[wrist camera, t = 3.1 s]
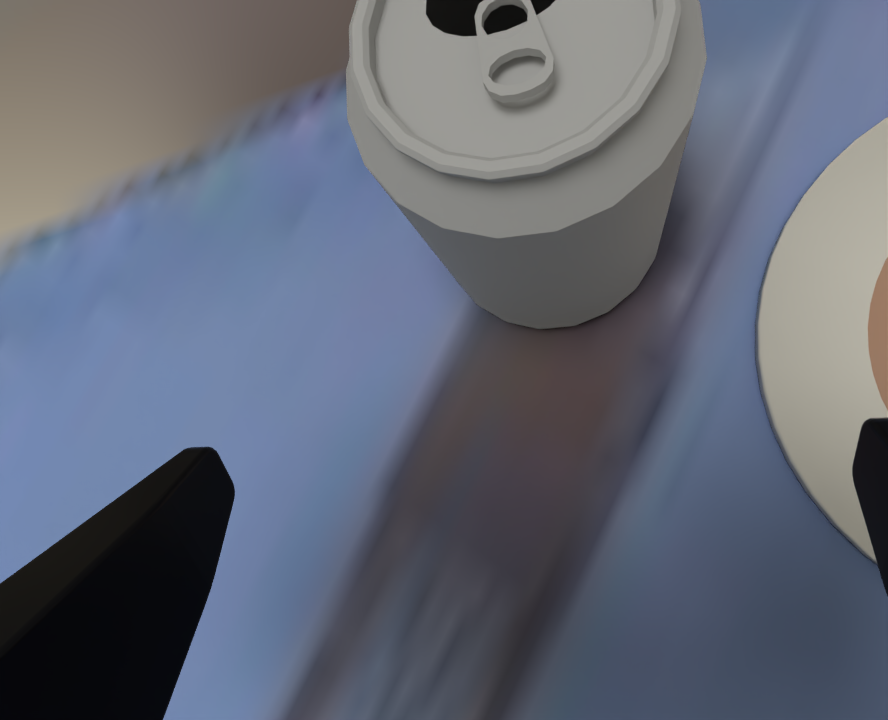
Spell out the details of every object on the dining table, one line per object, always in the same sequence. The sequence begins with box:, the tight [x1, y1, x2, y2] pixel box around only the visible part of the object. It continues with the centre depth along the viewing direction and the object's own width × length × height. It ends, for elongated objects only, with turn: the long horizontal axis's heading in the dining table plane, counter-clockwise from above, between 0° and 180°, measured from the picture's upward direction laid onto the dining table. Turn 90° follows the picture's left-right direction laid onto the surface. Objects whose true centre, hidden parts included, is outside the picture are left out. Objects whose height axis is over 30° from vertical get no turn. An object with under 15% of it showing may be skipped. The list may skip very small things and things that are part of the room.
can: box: [346, 0, 707, 329], centre depth 18 cm, size 8×8×12 cm
